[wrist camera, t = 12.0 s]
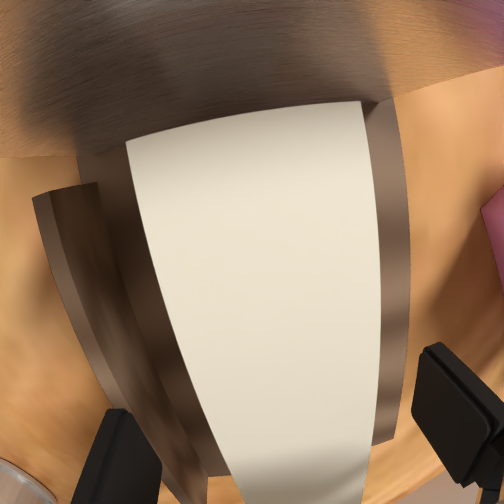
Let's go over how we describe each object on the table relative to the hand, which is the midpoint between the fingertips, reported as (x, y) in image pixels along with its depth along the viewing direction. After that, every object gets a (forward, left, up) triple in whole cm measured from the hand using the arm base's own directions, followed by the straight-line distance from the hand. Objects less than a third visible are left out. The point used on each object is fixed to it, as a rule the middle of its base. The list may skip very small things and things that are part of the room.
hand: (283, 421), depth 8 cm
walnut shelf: (-3, 0, -11) cm, 11 cm away
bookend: (+10, 0, -9) cm, 14 cm away
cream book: (0, 0, -9) cm, 9 cm away
